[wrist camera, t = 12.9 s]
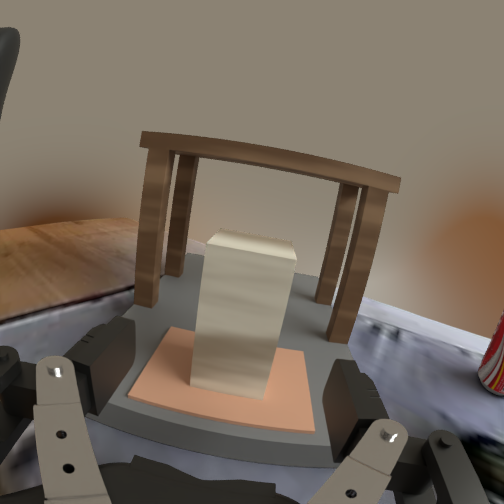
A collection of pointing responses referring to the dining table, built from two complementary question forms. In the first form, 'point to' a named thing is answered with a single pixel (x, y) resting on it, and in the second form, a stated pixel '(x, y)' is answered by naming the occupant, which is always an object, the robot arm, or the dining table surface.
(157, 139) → the shelter
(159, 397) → the slotted grey base plate
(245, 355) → the block
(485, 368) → the soda can
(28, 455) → the dining table surface
